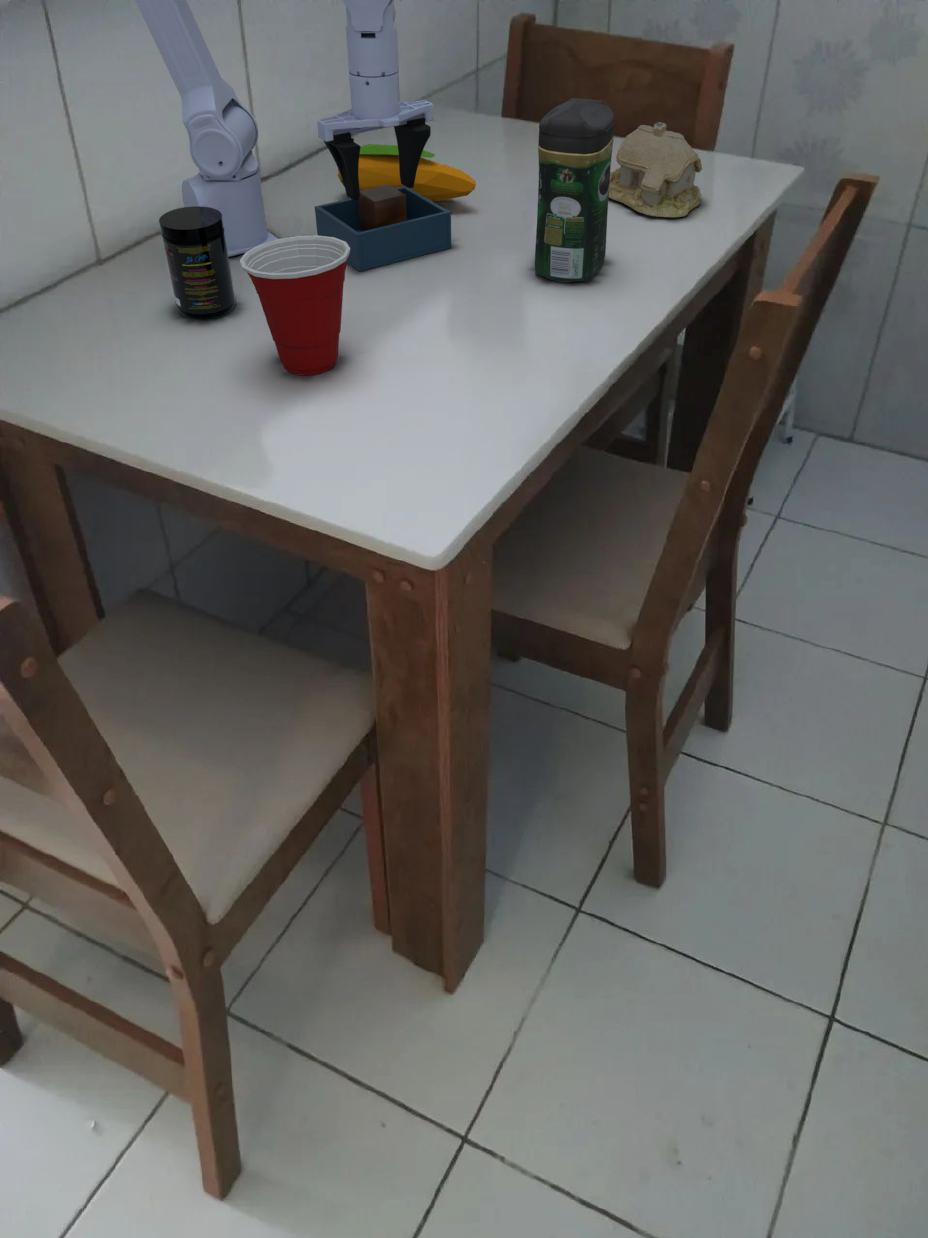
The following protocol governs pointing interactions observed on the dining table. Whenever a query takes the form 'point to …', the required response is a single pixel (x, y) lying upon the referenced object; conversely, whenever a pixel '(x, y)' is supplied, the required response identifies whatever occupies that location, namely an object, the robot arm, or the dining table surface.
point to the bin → (387, 231)
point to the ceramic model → (656, 173)
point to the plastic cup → (301, 297)
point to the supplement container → (198, 261)
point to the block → (381, 207)
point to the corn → (430, 177)
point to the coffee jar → (573, 189)
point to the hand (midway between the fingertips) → (380, 191)
